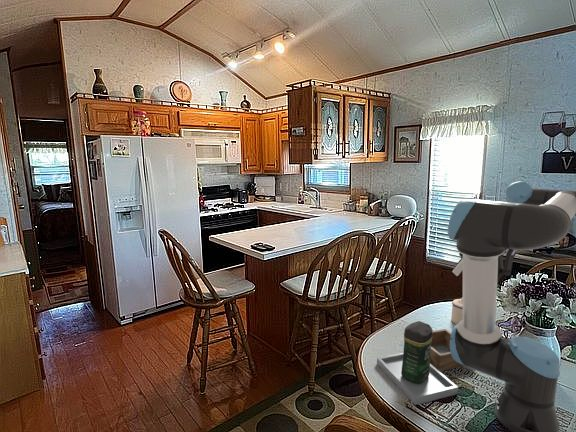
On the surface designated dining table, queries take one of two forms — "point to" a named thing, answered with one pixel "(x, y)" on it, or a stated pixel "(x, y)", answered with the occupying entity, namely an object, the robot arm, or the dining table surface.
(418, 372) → the coffee jar
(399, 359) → the grey flat rectangular tray
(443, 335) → the walnut tub
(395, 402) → the dining table surface
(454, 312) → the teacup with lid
